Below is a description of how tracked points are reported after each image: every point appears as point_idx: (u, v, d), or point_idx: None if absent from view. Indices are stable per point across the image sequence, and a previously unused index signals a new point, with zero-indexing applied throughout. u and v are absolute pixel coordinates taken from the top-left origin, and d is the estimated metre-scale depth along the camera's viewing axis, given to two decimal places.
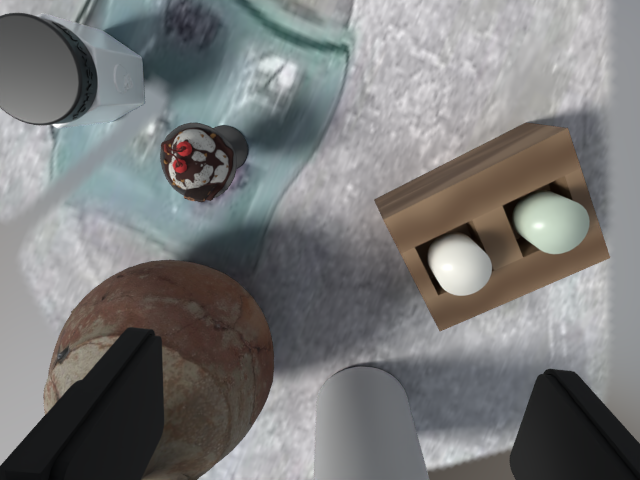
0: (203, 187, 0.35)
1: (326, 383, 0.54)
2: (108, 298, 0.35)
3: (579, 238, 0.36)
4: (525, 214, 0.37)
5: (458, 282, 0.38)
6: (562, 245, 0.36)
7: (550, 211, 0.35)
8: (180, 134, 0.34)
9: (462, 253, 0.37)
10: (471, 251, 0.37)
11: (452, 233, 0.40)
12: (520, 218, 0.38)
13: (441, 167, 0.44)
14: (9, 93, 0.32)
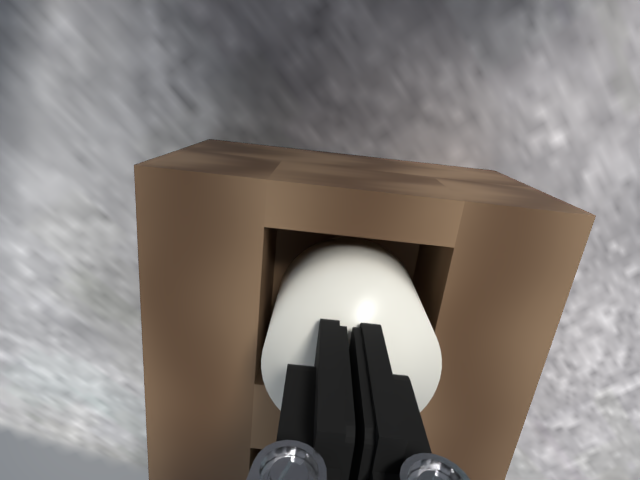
0: None
1: None
2: None
3: None
4: None
5: None
6: None
7: None
8: None
9: None
10: None
11: None
12: None
13: None
14: None
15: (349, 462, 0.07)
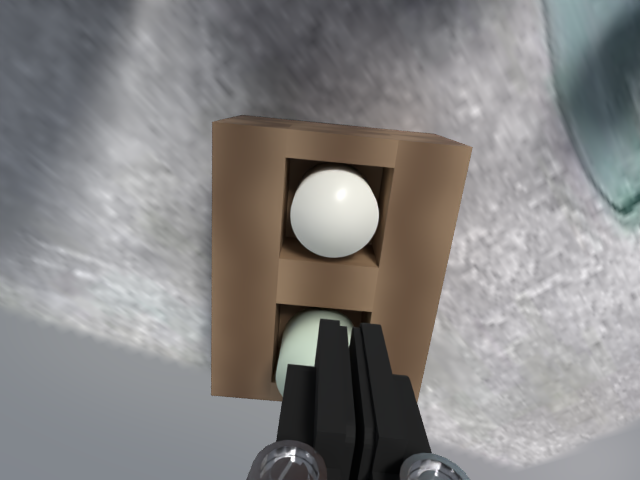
0: None
1: None
2: None
3: None
4: None
5: (322, 200, 0.23)
6: None
7: None
8: None
9: (363, 227, 0.23)
10: (358, 240, 0.23)
11: None
12: None
13: None
14: None
15: (349, 462, 0.07)
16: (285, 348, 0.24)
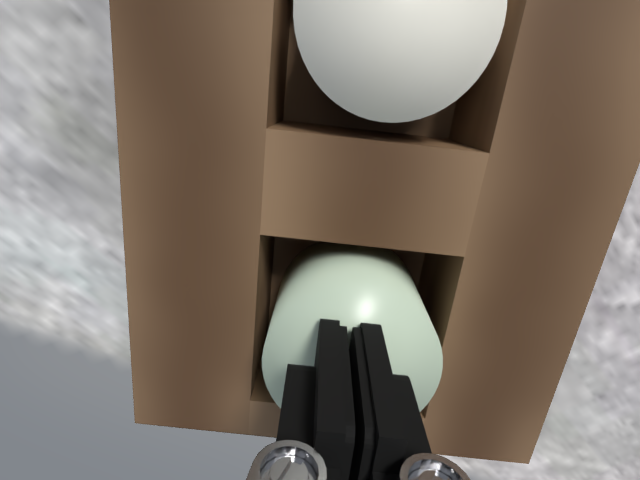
0: None
1: None
2: None
3: None
4: (414, 289, 0.12)
5: None
6: (290, 351, 0.11)
7: (419, 365, 0.11)
8: None
9: (467, 44, 0.10)
10: (452, 78, 0.10)
11: None
12: (399, 271, 0.13)
13: None
14: None
15: (349, 462, 0.07)
16: (283, 304, 0.12)
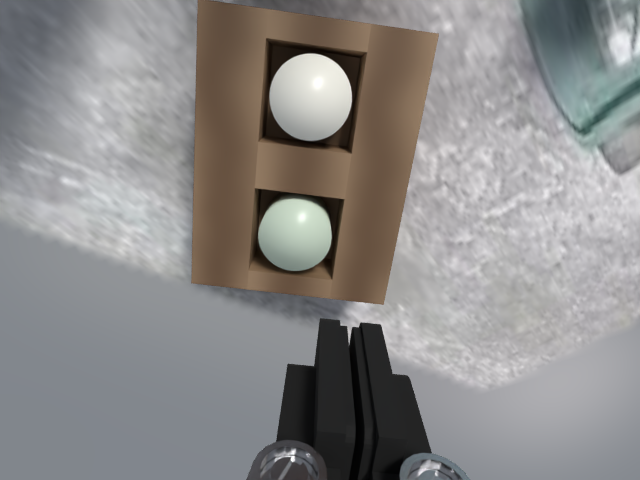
0: None
1: None
2: None
3: (267, 250, 0.28)
4: (323, 208, 0.29)
5: (299, 81, 0.24)
6: (270, 229, 0.27)
7: (322, 236, 0.28)
8: None
9: (338, 111, 0.25)
10: (333, 123, 0.25)
11: None
12: (318, 201, 0.29)
13: None
14: None
15: (349, 462, 0.07)
16: (267, 212, 0.28)
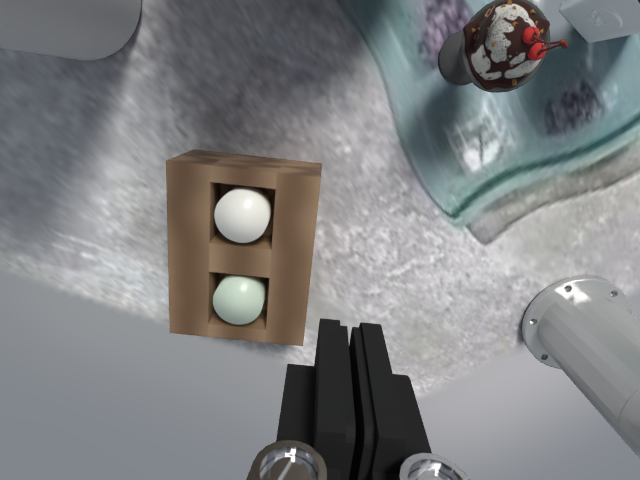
0: (484, 33, 0.30)
1: None
2: None
3: (219, 311, 0.41)
4: (258, 281, 0.42)
5: (233, 207, 0.37)
6: (220, 298, 0.41)
7: (256, 302, 0.41)
8: None
9: (259, 224, 0.38)
10: (256, 232, 0.38)
11: (270, 218, 0.42)
12: (255, 276, 0.42)
13: None
14: None
15: (349, 462, 0.07)
16: (219, 285, 0.41)
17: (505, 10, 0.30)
